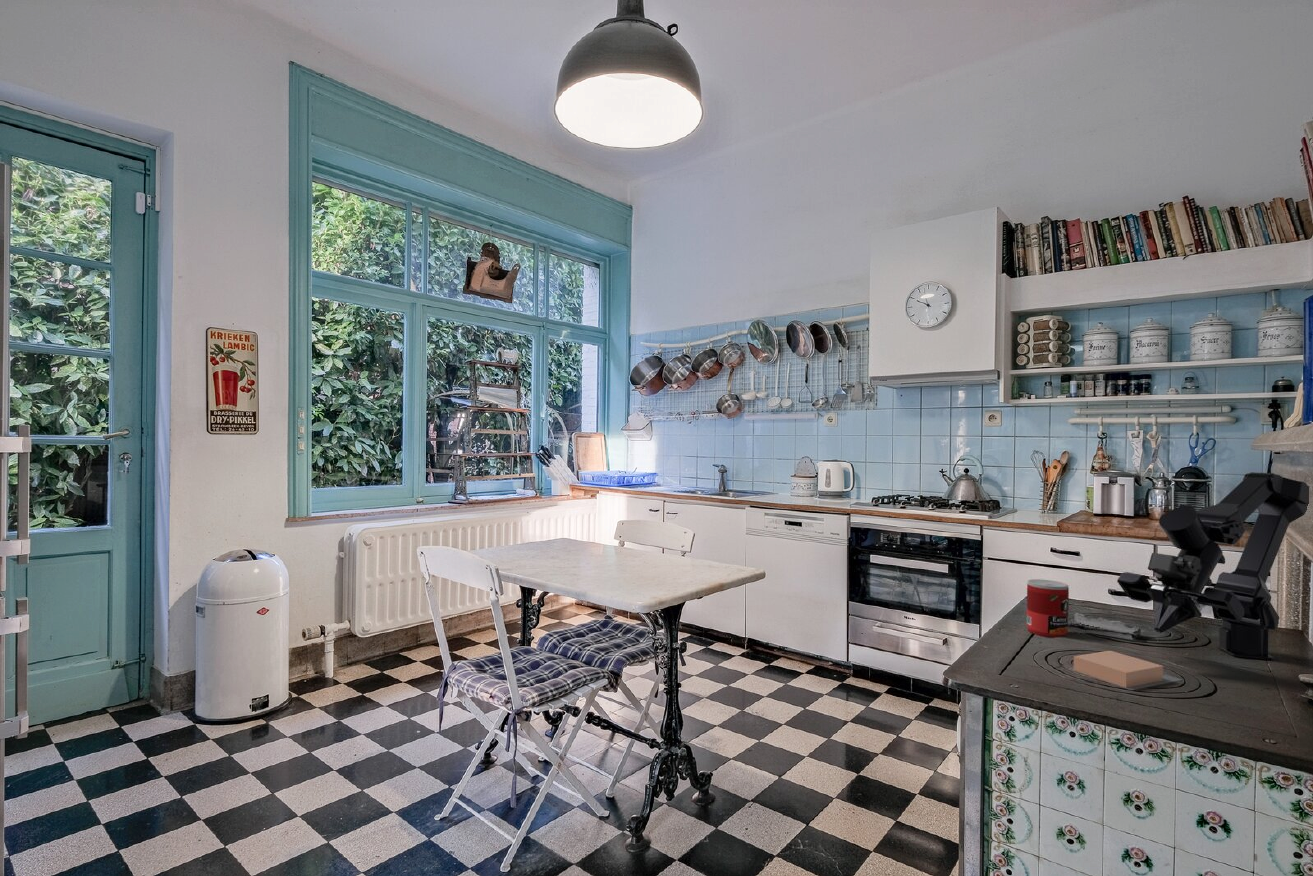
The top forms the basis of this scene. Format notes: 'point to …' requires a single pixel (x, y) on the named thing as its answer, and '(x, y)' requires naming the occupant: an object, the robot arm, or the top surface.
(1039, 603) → the canned food
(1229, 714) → the top surface
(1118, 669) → the terracotta tile
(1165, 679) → the rubber mat
